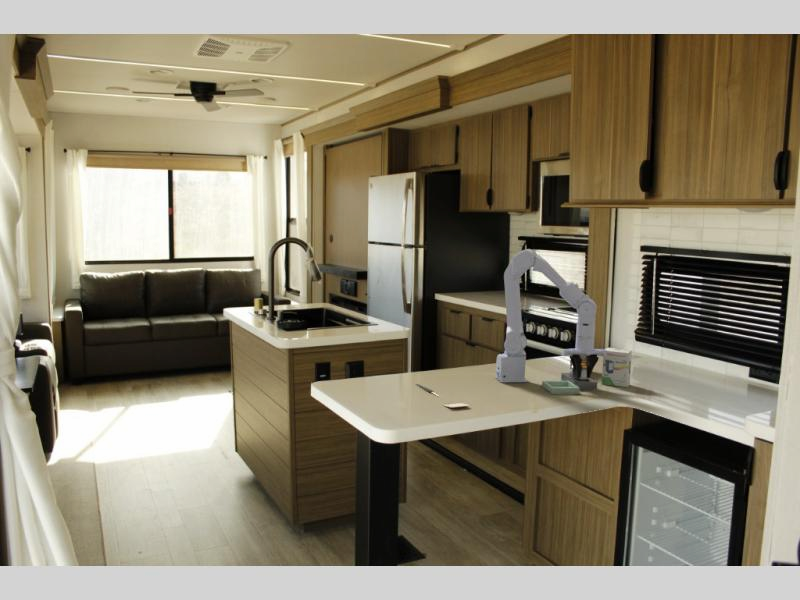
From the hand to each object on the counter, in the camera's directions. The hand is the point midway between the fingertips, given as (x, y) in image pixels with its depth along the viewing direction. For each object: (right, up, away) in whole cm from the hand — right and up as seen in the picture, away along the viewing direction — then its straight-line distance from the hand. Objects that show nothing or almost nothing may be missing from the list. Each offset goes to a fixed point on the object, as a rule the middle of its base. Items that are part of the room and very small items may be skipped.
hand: (582, 377), depth 223 cm
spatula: (-48, -5, -15) cm, 51 cm away
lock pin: (0, -3, 0) cm, 3 cm away
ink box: (+12, -3, +5) cm, 14 cm away
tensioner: (0, -3, +3) cm, 4 cm away
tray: (-8, -4, -5) cm, 10 cm away
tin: (+4, -1, +19) cm, 20 cm away
